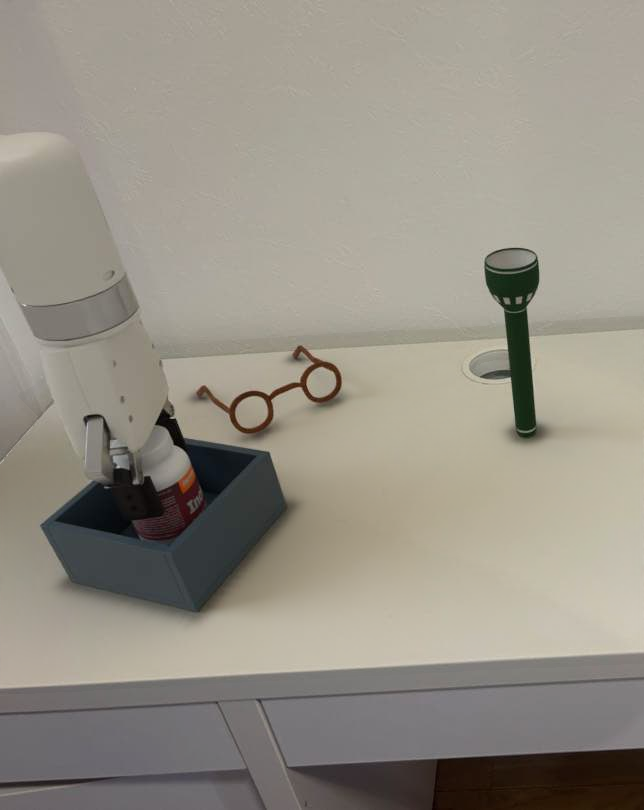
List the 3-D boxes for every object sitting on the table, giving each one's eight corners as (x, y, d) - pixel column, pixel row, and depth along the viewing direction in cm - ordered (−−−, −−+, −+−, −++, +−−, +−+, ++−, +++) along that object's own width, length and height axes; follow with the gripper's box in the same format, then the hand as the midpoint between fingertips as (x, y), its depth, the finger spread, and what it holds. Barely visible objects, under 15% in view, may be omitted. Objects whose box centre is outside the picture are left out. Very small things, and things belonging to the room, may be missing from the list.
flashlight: (547, 416, 87) (534, 244, 76) (553, 443, 83) (541, 266, 72) (500, 421, 87) (481, 250, 76) (504, 449, 83) (485, 272, 71)
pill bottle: (219, 546, 72) (180, 449, 66) (146, 569, 70) (99, 472, 64) (212, 505, 77) (175, 412, 71) (144, 526, 75) (100, 432, 69)
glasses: (240, 443, 87) (227, 405, 84) (196, 396, 95) (183, 360, 92) (347, 395, 93) (338, 358, 90) (297, 355, 102) (288, 321, 99)
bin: (71, 582, 71) (39, 525, 67) (173, 485, 81) (150, 431, 77) (197, 612, 67) (171, 554, 63) (287, 507, 77) (269, 451, 73)
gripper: (72, 264, 67) (144, 433, 77) (-24, 371, 53) (80, 562, 63) (163, 255, 68) (223, 424, 77) (93, 358, 53) (177, 549, 63)
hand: (158, 484), depth 70 cm, fingers open, 7 cm apart
